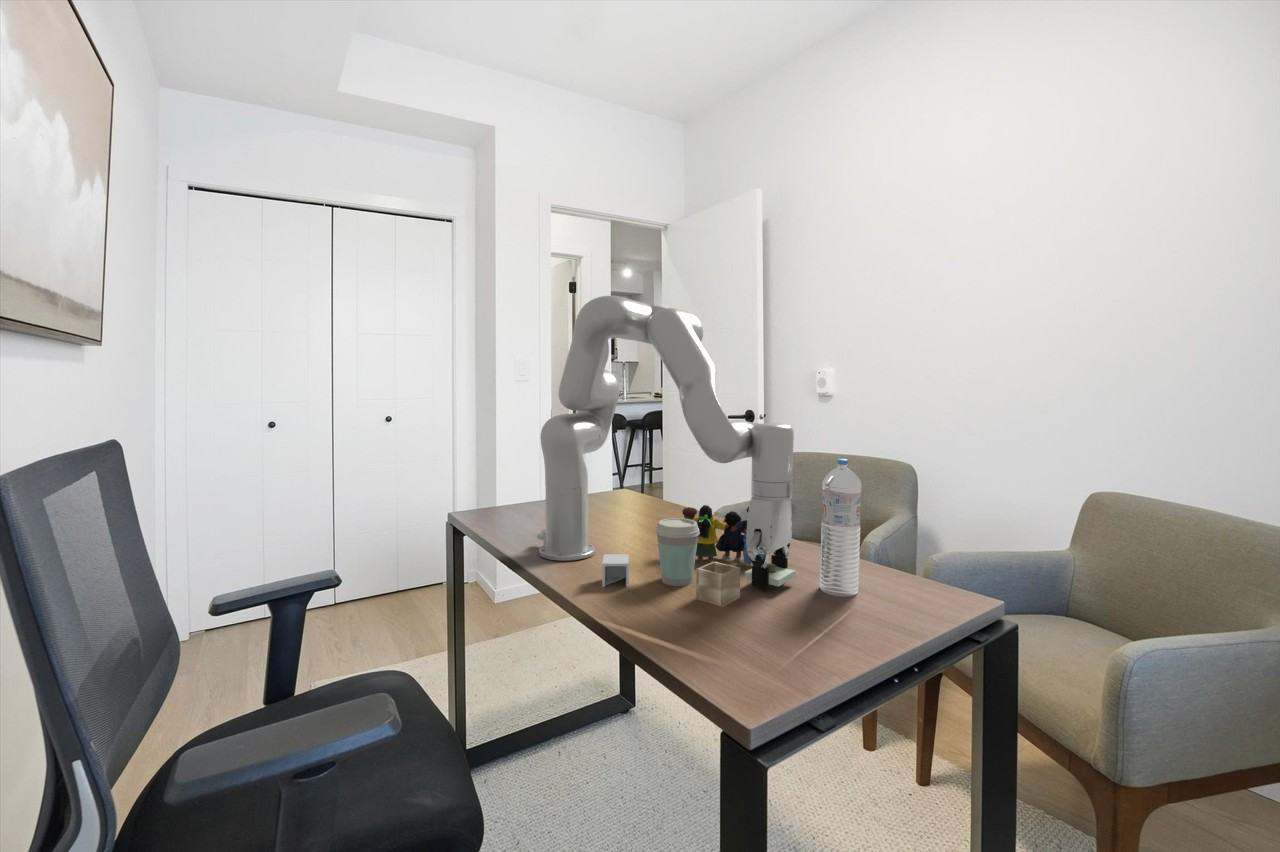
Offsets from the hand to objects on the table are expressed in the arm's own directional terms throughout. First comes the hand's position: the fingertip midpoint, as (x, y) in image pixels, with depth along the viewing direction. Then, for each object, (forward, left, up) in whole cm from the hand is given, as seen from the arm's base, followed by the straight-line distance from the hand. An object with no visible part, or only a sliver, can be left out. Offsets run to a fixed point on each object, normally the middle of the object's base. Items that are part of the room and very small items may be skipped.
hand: (769, 581), depth 113 cm
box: (-4, -12, -1) cm, 13 cm away
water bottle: (+11, +6, -2) cm, 13 cm away
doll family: (-16, +9, -2) cm, 18 cm away
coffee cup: (-15, -9, -2) cm, 18 cm away
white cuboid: (-24, -17, -1) cm, 29 cm away
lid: (0, 0, +1) cm, 1 cm away
